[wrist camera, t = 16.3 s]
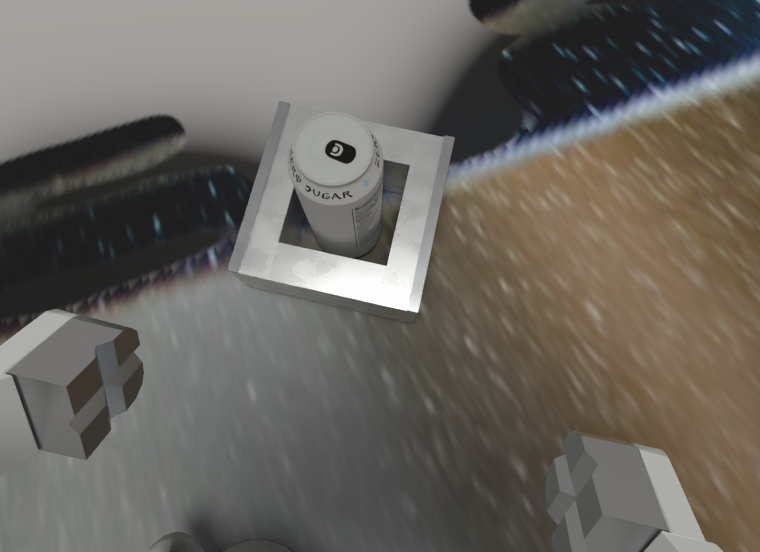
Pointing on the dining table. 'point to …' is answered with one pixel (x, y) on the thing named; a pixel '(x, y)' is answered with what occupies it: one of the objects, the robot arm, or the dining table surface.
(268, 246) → the frame
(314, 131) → the energy drink can
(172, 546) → the coffee mug
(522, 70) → the dining table surface
